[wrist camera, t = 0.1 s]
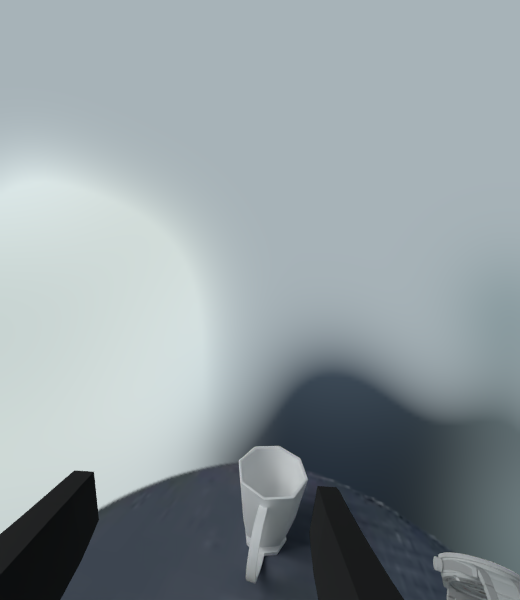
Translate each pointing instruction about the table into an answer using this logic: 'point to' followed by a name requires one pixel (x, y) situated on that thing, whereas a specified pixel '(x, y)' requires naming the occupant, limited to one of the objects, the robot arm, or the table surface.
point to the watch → (476, 578)
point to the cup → (269, 501)
